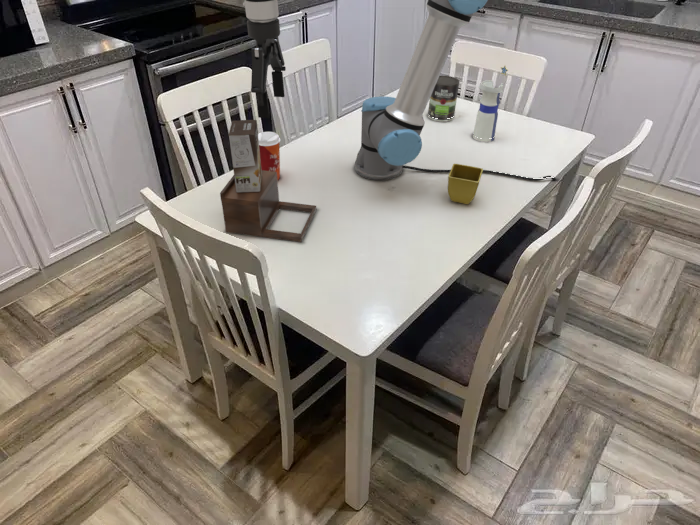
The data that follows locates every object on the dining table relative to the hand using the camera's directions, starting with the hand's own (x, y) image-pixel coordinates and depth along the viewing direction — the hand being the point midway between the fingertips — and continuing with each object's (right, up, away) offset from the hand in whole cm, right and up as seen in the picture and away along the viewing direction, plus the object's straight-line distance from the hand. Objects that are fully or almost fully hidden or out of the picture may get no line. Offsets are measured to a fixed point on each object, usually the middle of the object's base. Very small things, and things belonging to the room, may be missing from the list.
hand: (272, 106), depth 138 cm
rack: (-2, -28, +11) cm, 31 cm away
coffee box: (-7, -19, +5) cm, 21 cm away
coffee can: (+55, +16, +69) cm, 90 cm away
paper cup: (-5, -14, +30) cm, 33 cm away
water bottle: (+68, +5, +55) cm, 88 cm away
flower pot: (+53, -21, +21) cm, 61 cm away
